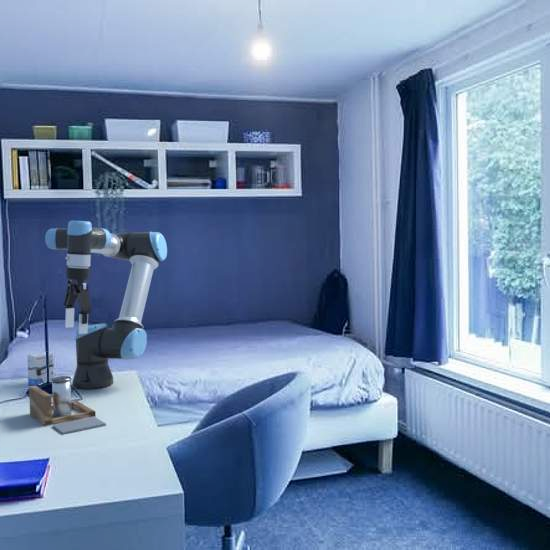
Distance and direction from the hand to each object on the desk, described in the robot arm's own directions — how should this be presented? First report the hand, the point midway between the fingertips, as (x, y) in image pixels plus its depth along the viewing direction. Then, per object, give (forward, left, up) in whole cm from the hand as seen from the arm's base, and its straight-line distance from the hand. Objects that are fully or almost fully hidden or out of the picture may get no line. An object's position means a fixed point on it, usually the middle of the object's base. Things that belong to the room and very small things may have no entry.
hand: (76, 330), depth 206 cm
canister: (+8, +7, -26) cm, 28 cm away
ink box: (0, -41, -26) cm, 48 cm away
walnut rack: (+8, +7, -26) cm, 28 cm away
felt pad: (+8, +22, -26) cm, 35 cm away
